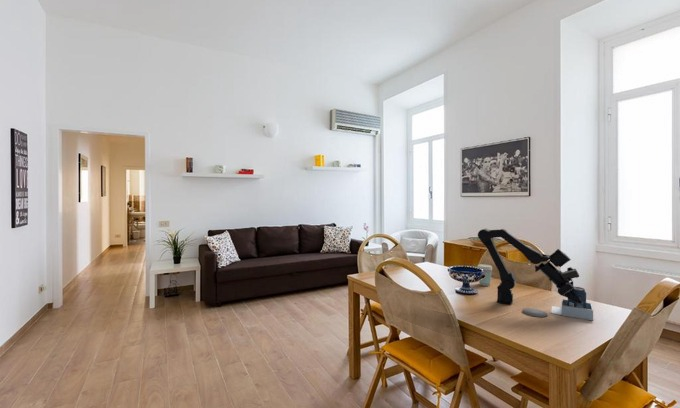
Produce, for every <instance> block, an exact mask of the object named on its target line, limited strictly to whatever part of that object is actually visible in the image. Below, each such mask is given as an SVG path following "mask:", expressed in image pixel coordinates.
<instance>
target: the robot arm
mask: <svg viewBox="0 0 680 408" xmlns="http://www.w3.org/2000/svg"><path fill="white" fill-rule="evenodd" d="M495 238H502V239H503V240H504V241H506V242H507V243H508V244H510V245H511V246H513V247H514V248H515V249H517V250H518V251H519V252H520V253H522V254H523V256H524V257H525V258H526V259H527V260H528V261H529V262H530V263H531V264H534V265H535V266H534V267H535V270H534V271H535V273H536V272H538V271H540V272H541V273H542V274H543V275H545V276H546V277H547V278H548V280H549V281H550V282H552V284H554V285H555V287H556V288H557V294H559V295H560V296H562V297H565V298H567V299H568V298H569V299H571V300H573V301H576V302H578V303H582V301H581V300H580V299H579V297H578V296H577V295H576V293H575V292H574V287H575V286H574V280H573V279H578V278H579V277H580V274H579V272H578V270H577V268H573V267H571V266H570V267H567V270H565V271H561V270H560V269H557V268H562V267H563V266H564V265H566V264H568V262H570V261H571V260H572V259H571V258H570V257H569V256H568V255H567V254H566V253H565V252H563V251H562V250H560V248H557V249H556V250H554V252H553V253H551V254H550V255H549V254H545V253H542V252H541V251H539V250H537V249H535V248H533V247H530V246H528V245H527V244H525V243H523V242H522V241H521V240H519V238H517V237H516V236H514V235H513V234H511V233H510V232H509V231H508V230H506V229H504V228H501V229H488V228H482V229H480V230H479V231H478V232H477V239H479V241H480V242H481V243H482V244H483V245H484V247H486V249H487V251H488V253H489V255H490V257H491V259H492V261H493V263H494V265H495V267H496V269H497V271H498V273H499V278H500V283H499V284H498V285H497V287H496V288H497V295H496V296H497V298H496V299H497V301H496V303H498V304H503V305H504V304H505V305H512V303H513V302H514V293H513V291H512V290H513V288H515V286H516V284H517V277H516V276H515V274H514V271H513V270H512V271H510V270H508V267H507V265H506V264H505V262H504V260H503V258H502V255H500V252H499V251H498V249H497V246H496V245H495Z"/></svg>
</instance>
